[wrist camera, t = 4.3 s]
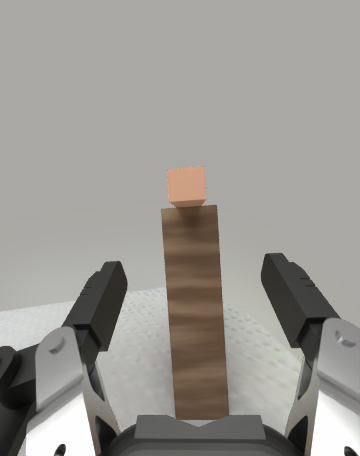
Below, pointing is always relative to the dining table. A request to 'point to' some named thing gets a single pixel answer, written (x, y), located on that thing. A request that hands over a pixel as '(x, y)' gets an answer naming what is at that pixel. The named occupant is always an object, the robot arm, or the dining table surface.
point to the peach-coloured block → (186, 186)
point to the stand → (195, 312)
